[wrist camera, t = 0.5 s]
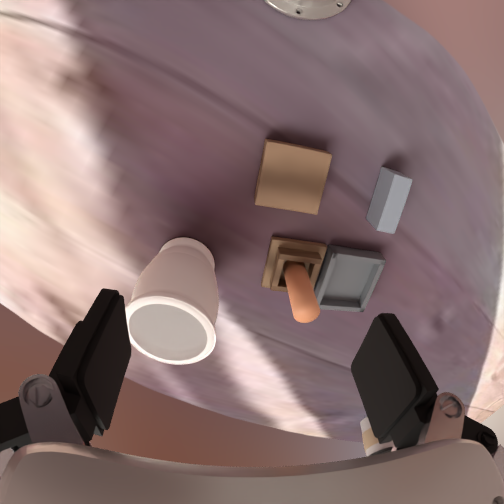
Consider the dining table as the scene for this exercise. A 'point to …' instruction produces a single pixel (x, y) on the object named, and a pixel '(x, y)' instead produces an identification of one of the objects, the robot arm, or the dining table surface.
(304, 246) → the holder
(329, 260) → the tray
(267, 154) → the tan wooden block
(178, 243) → the jar
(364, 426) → the coffee cup
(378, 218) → the gray rectangular block
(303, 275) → the dowel
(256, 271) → the dining table surface
